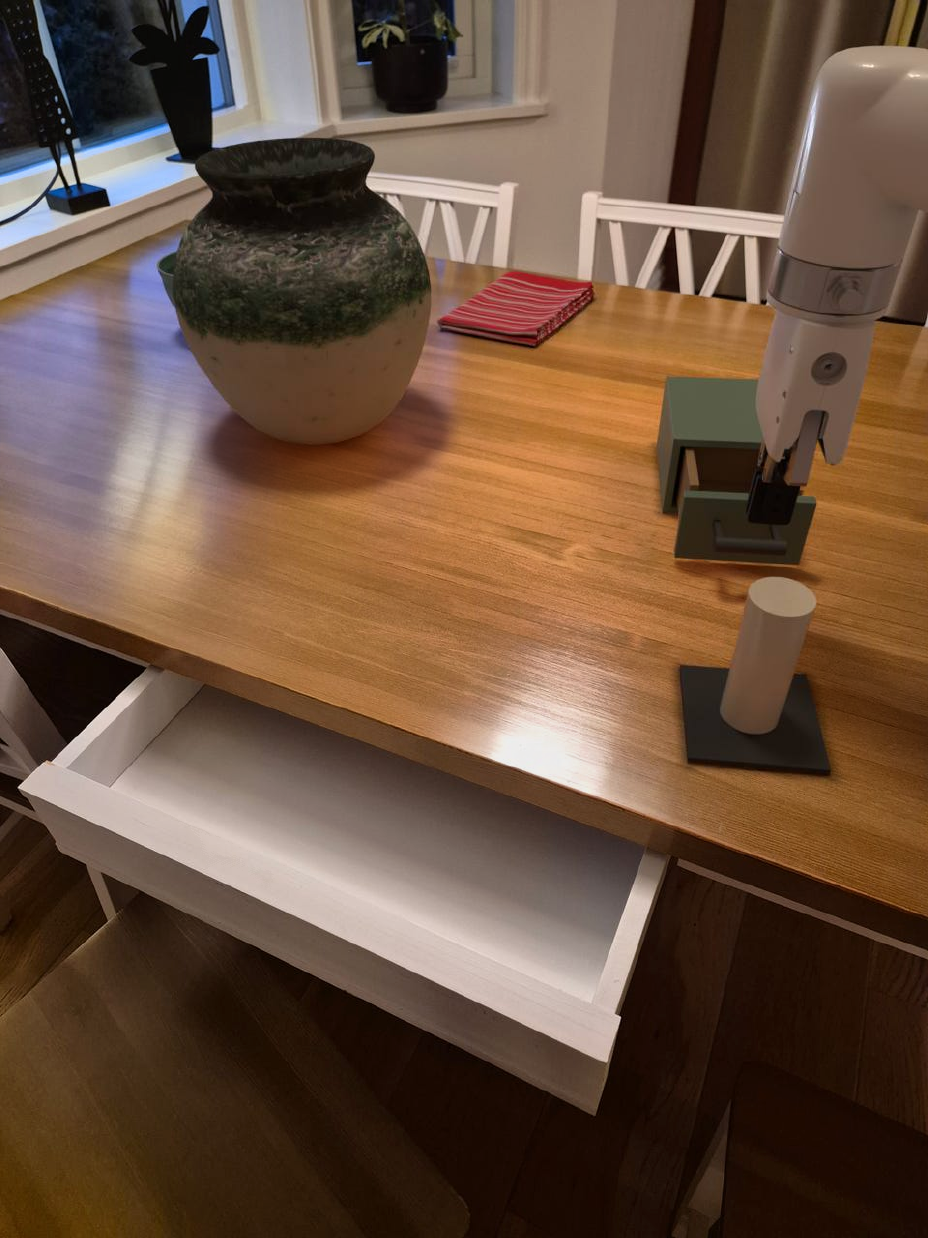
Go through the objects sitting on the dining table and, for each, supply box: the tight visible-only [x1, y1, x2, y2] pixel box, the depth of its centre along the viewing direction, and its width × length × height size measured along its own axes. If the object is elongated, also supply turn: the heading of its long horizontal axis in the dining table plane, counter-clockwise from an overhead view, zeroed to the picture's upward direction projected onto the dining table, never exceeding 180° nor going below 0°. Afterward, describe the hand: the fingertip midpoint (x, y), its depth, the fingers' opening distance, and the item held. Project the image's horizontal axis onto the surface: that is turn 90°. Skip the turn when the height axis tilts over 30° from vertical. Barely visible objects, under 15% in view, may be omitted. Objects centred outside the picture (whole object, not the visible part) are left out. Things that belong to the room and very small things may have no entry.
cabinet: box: [656, 375, 763, 515], centre depth 89 cm, size 15×13×9 cm
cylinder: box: [720, 576, 817, 734], centre depth 60 cm, size 4×4×12 cm
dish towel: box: [436, 270, 596, 347], centre depth 131 cm, size 17×24×3 cm
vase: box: [173, 137, 432, 446], centre depth 94 cm, size 28×28×30 cm
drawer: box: [673, 446, 818, 566], centre depth 80 cm, size 18×11×7 cm, turn 172°
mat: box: [678, 664, 832, 776], centre depth 64 cm, size 10×10×1 cm
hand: (766, 518), depth 65 cm, fingers closed
